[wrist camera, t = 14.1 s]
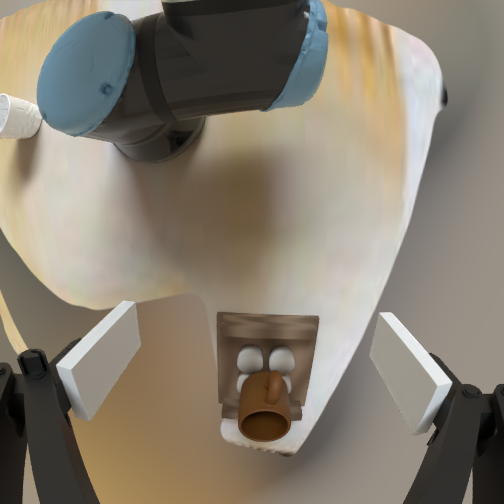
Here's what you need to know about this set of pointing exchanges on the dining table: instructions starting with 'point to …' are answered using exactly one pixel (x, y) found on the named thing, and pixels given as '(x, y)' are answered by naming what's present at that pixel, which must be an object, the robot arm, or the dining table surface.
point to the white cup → (18, 118)
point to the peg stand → (264, 355)
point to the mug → (264, 407)
